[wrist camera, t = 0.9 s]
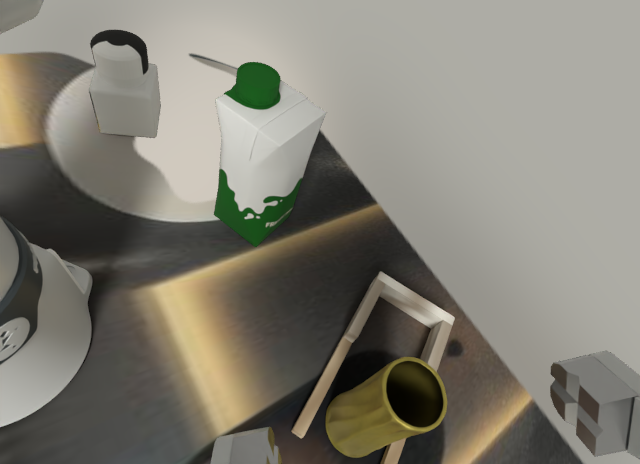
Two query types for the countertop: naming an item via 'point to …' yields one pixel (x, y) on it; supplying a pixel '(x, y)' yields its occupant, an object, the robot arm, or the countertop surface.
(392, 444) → the frame
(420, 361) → the vase
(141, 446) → the countertop surface
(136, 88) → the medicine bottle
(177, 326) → the countertop surface
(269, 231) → the milk carton
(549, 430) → the countertop surface
